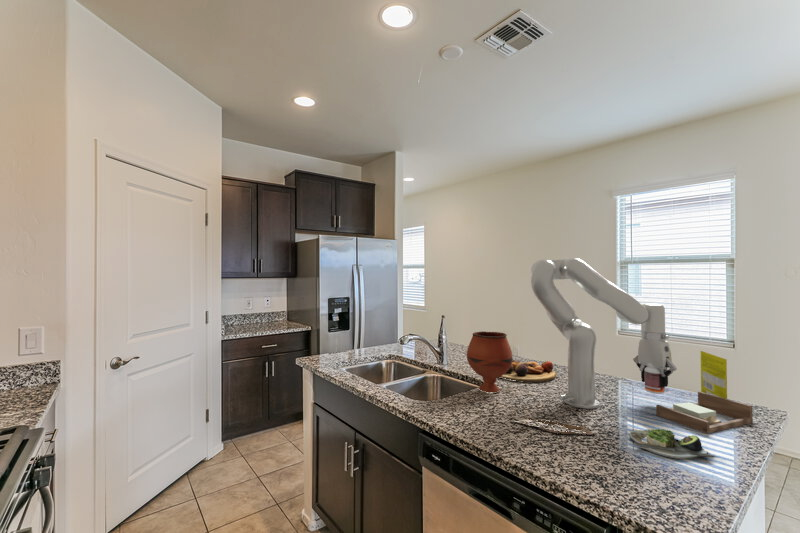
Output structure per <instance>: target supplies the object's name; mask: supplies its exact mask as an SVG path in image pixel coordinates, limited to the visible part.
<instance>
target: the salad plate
mask: <svg viewBox="0 0 800 533" xmlns="http://www.w3.org/2000/svg"><path fill="white" fill-rule="evenodd" d="M628 436H629V438H630V439H631V440H632V441H633V442H634V444H633V445H634V446H635V447H638V448H641V449H644V450H646V451H647V452H650V453H652V454H653V453H654V454H656V455H659V456H663V457H667V458H670V459H675V460H676V459H677V460H680V459H682V460H683V459H684V460H685V459H687V460H688V459H689V460H691V459H693V460H695V459H704V458H712V457H714V455H713V454H712V453H711V454H709V452H708V451H707V450H705V449H704V447H703V446H702V441H701V440H700V438H699V436H697V435H695V434H694V435H688V436H685V437H683V438H681V439H678V438H675V436H676V435H675V434H674V433H673V431H672V430H670V429H664V428H662V429H661V428H656V429H655V428H654V429H644V430H642V429H640V430H639V429H636V430H635V429H634V430H631V431H629V434H628ZM643 439H646V441H647V443H646V442H645V441H643Z"/></svg>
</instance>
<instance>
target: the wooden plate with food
mask: <svg viewBox="0 0 800 533" xmlns="http://www.w3.org/2000/svg"><path fill="white" fill-rule="evenodd" d="M553 369H554V364H553V363H552V361H549V360H547V361H544V362H543V363H541V365H540V364H539V363H537V362H535V361H527V362H521V361H517V360H513V359H512V365H511V367H510V368H509V370H508V371H507V372H506V373H505V374H504V375H502V376H500V377H503V378H506V379H511V380H516V381H523V382H522V383H525V382H538V383H545V381H546V382H550V381H552V380H554V379H556V376H557V373H556V371H554V370H553Z"/></svg>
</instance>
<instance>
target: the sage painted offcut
mask: <svg viewBox="0 0 800 533" xmlns="http://www.w3.org/2000/svg"><path fill="white" fill-rule="evenodd" d="M672 408H673V409H676V410H679V411H681V412H684V413H687V414H689V415H692V416H695V417H698V418H704V417H712V416H716V417H717V413H716V411H713V410H711V409H708V408H705V407H702V406H699V405H696V404H694V403H692V402H689V401H688V402H679V403H673V404H672Z"/></svg>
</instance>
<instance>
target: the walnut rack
mask: <svg viewBox="0 0 800 533" xmlns="http://www.w3.org/2000/svg"><path fill="white" fill-rule="evenodd" d="M693 404H696V405H699V406H702V407H705V408H708V409H711V410H713V411H716V414H720V415H723V416H726V417H730V418H733V420H732V419H731V420H727V421H724V422H721V423H718V424H714V425H710V422H709V421H706V420H703V419H700V418H697V417H694V416H691V415H688V414H685V413H682V412H679V411H676V410H673V409H672V408H673V407H670V408H669V407H667V406H663V405H662V404H661V405H660V404H656V405H655V409H656V410H655V412H656V414H655V415H656V417H657V416H658V417H660V418H663V419H665V420H668V421H671V422H672V423H673V422H674V423H677V424H679V425H682V426H685V427H688V428H691V429H693V430H696V431H697V432H698V431H699V432H701V433H704V434H712V433H716V432H720V431H724V430H727V429H731V428H735V427H740V426H744V425H748V424H753V423H754V422H753V419H754V418H753V417H754V416H753V405H750V404H747V403H744V402H739V401H736V400H733V399H730V398H729V399H728V398H727V399H725V398H722V397H718V396H714V395H711V394H707V393H703V392H701V391H697V402H696V403H693Z"/></svg>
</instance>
